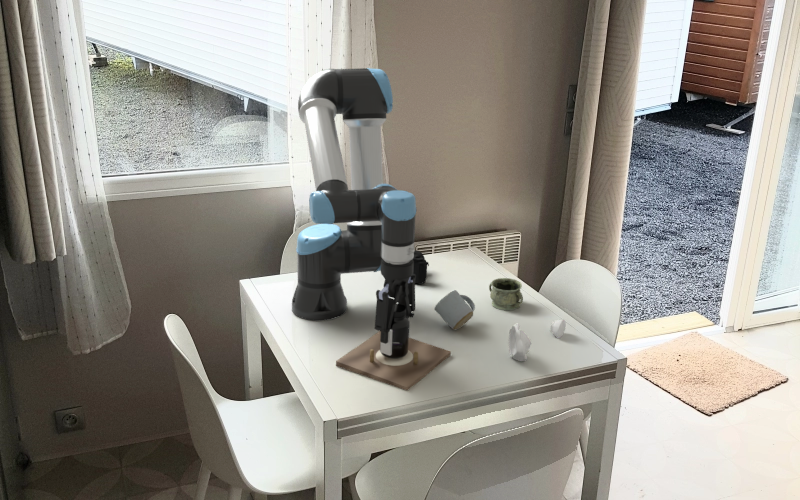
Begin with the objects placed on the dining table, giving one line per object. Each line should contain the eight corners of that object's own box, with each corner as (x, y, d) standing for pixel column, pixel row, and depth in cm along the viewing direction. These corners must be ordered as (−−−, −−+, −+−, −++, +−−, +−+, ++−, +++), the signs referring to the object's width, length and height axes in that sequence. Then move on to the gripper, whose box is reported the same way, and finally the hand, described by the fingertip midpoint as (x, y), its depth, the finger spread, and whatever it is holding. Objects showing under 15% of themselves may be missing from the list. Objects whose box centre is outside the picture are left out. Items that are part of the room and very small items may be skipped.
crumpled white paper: (533, 371, 186) (537, 335, 182) (515, 371, 185) (519, 335, 182) (524, 350, 195) (528, 315, 191) (506, 350, 195) (510, 315, 191)
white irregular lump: (558, 341, 200) (560, 324, 198) (547, 338, 201) (549, 321, 199) (565, 334, 204) (567, 317, 202) (554, 331, 205) (556, 314, 203)
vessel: (531, 307, 218) (533, 286, 216) (511, 316, 213) (513, 295, 210) (498, 293, 226) (499, 273, 224) (478, 301, 221) (479, 281, 218)
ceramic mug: (452, 335, 204) (458, 324, 198) (431, 313, 207) (436, 300, 200) (480, 313, 209) (487, 300, 202) (459, 291, 211) (465, 278, 204)
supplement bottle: (387, 362, 183) (389, 316, 178) (375, 348, 188) (376, 304, 184) (413, 356, 186) (415, 311, 181) (400, 343, 191) (402, 299, 187)
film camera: (439, 275, 237) (440, 248, 233) (420, 285, 229) (422, 257, 226) (399, 263, 245) (400, 236, 242) (380, 272, 238) (380, 245, 234)
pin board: (336, 366, 185) (336, 349, 183) (382, 334, 201) (383, 318, 199) (407, 393, 175) (407, 375, 174) (450, 356, 191) (451, 340, 189)
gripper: (387, 276, 168) (384, 369, 177) (433, 249, 184) (428, 335, 192) (358, 268, 172) (357, 359, 181) (406, 242, 187) (403, 327, 196)
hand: (394, 346), depth 187 cm, fingers closed on supplement bottle, 7 cm apart
